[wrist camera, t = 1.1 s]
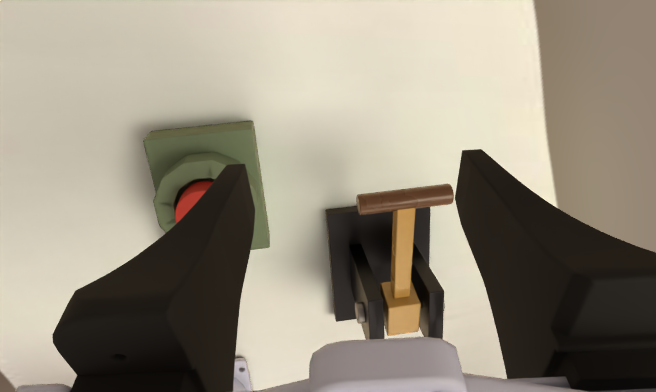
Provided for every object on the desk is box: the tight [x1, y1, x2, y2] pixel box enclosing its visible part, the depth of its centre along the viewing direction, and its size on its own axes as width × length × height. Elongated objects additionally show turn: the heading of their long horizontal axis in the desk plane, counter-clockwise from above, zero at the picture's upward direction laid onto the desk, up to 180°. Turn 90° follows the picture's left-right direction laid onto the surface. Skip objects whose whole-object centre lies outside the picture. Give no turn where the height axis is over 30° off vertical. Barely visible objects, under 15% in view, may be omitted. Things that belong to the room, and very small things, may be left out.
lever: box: [356, 184, 454, 336], centre depth 29 cm, size 11×6×2 cm, turn 5°
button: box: [175, 181, 213, 223], centre depth 29 cm, size 4×4×2 cm
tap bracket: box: [326, 206, 445, 340], centre depth 33 cm, size 10×8×8 cm
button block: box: [143, 121, 270, 250], centre depth 31 cm, size 9×7×4 cm
